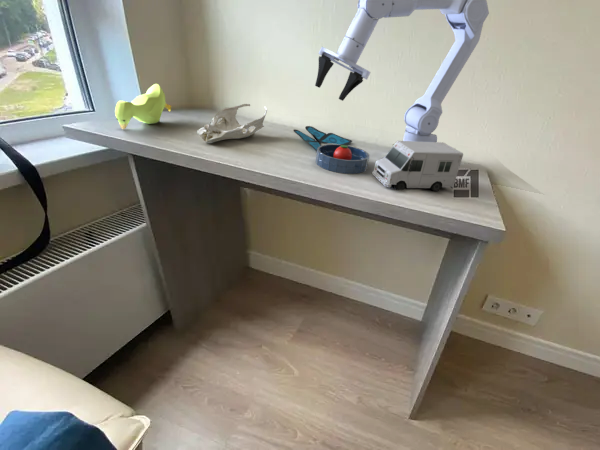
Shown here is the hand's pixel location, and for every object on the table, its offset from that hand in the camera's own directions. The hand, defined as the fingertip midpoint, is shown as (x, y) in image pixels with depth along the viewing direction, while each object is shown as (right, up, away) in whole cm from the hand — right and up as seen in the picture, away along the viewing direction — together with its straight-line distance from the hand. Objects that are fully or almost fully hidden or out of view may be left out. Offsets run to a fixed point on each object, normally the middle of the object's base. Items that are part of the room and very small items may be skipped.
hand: (328, 93), depth 98 cm
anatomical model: (-29, -7, +19) cm, 35 cm away
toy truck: (+21, -25, -3) cm, 32 cm away
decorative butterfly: (-2, -9, +20) cm, 23 cm away
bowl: (+4, -19, +4) cm, 20 cm away
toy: (-58, -2, +21) cm, 62 cm away
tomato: (+4, -18, +4) cm, 19 cm away
